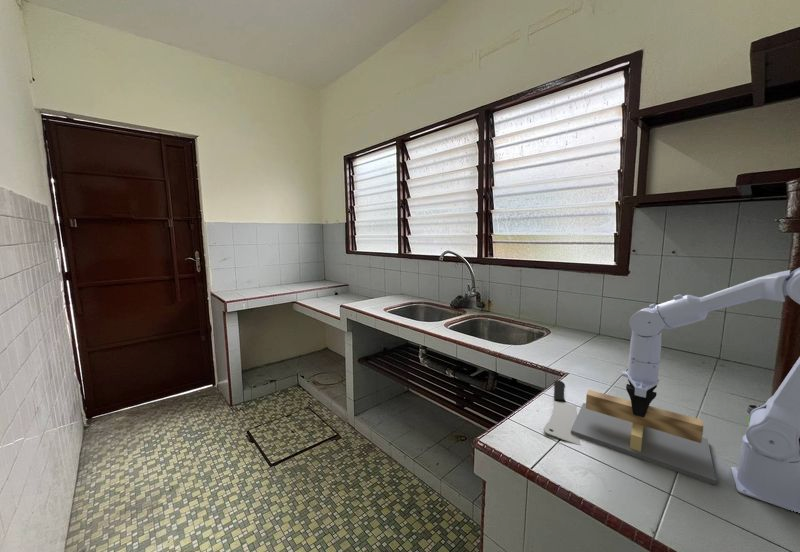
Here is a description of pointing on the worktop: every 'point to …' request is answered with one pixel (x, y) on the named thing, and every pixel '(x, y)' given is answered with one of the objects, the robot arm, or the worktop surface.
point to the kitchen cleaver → (562, 417)
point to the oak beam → (646, 416)
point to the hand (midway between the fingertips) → (639, 412)
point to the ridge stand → (646, 444)
